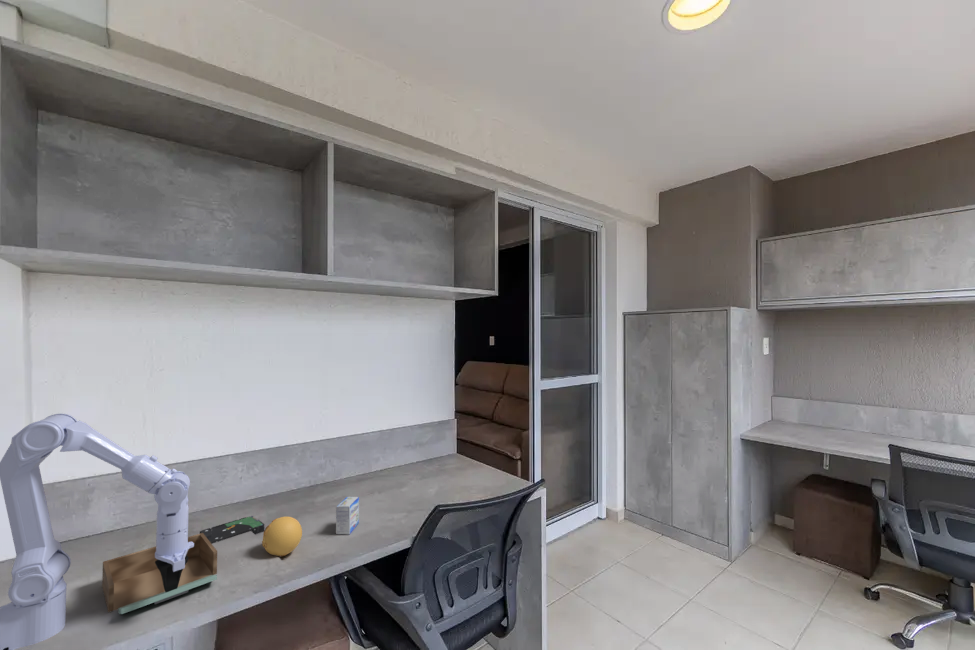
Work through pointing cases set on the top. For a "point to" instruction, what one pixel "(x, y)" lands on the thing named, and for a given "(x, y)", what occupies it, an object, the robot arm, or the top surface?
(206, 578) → the green flat rectangular panel
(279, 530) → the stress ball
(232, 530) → the disk drive
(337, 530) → the medicine box
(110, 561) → the wooden drawer
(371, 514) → the top surface
